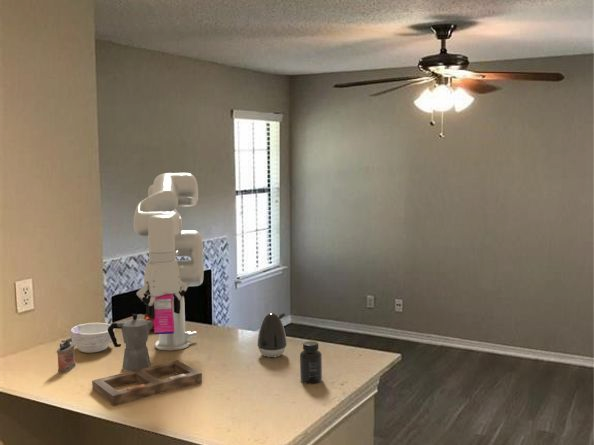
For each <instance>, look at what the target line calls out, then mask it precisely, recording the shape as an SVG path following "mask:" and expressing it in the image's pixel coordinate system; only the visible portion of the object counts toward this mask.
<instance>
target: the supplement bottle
mask: <svg viewBox="0 0 594 445" xmlns="http://www.w3.org/2000/svg"><path fill="white" fill-rule="evenodd" d="M319 349H320V348H319V342H317V341H313V340H312V341H311V340H308V341H304V342H303V343H302V351H301V352H300V354H299V367H300V371H299V373H300V376H299V377H300V381H301V382H302V381H303V382H302V383H304V382H306V383H305V384H309V383H313V384H318V383H320V382H321V381H322V379H323V356H322V355H323V354H322V352H321V351H320V350H319Z"/></svg>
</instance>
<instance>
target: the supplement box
mask: <svg viewBox="0 0 594 445" xmlns="http://www.w3.org/2000/svg"><path fill="white" fill-rule="evenodd" d="M153 305H154V310H155V318H154V329H153V331H154V335H159V334H174V331H175V319H174V297H173V294H170V295H165V296H160V297H156V298H155V300H154V302H153Z"/></svg>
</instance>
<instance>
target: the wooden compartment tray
mask: <svg viewBox="0 0 594 445" xmlns="http://www.w3.org/2000/svg"><path fill="white" fill-rule="evenodd" d="M170 374H176V375H173V376H169V377H168V378H164V379H161V380H160V379H159V377H162V376H166V375H170ZM135 383H136V384H137V385H134V386H129V387H127V388H125V389H121V390H117V388H118V387H119V388H120V387H123V386H127V385H131V384H135ZM196 383H197V384H200V383H203V373H202V372H201V371H199V370H197V369H195V368H193V367H191V366H189V365H187V364H186V363H184V362H182V361H180V360H178V359H175V360H173V361H168V362H163V363H159V364H156V365H152V366H151V365H150V366H149V367H147V368H142V369H138V370H134V371H126V372H122V373H117V374H115V375H109V376H105V377H102V378H97V379H92V380H91V386H92V389H91V390H92V391H93V392H94V393H95V394H97V395H98V396H100V397H101V398H102V399H103V400H105V401H106V402H107V403H109V404H110V405H111V406H113V407H115V406H118V405H122V404H126V403H130V402H133V401H137V400H141V399H146V398H149V397H152V395H153V396H156V395H159V394H163V393H168V392H171V391H174V390H179V389H182V388H186V387H189V385H190V386H192V385H193V384H194V385H196Z"/></svg>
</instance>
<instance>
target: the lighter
mask: <svg viewBox="0 0 594 445" xmlns="http://www.w3.org/2000/svg"><path fill="white" fill-rule="evenodd" d="M71 342H72V338H71V337H68V338H66V339H61V342H59V348H58V349H56V354H57V368H58V369H57V373H58V374H65V373H68V372H70V371H71V370H73V369H74V368H75V367H76V360H75V359H76V358H75V347H76V346H75V344H71Z"/></svg>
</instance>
